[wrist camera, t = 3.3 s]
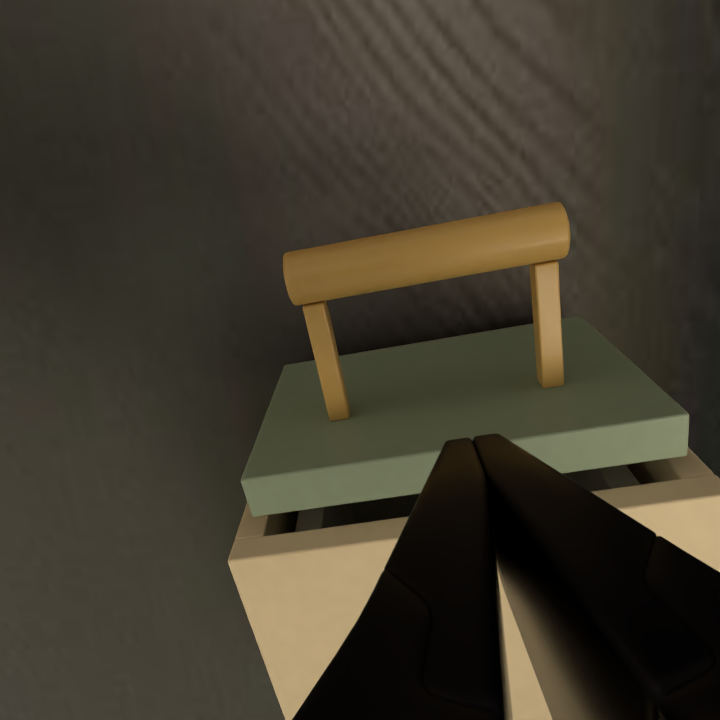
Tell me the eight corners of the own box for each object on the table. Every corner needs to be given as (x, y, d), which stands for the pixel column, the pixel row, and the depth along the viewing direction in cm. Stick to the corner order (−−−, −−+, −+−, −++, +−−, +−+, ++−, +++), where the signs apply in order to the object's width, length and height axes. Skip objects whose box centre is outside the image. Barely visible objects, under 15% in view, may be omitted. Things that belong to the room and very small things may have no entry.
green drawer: (249, 234, 18) (177, 294, 12) (575, 171, 17) (701, 198, 11) (350, 616, 25) (342, 792, 19) (590, 587, 24) (673, 763, 18)
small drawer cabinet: (282, 396, 22) (226, 561, 14) (590, 346, 21) (736, 493, 12) (350, 643, 27) (340, 872, 19) (597, 615, 26) (703, 844, 18)
